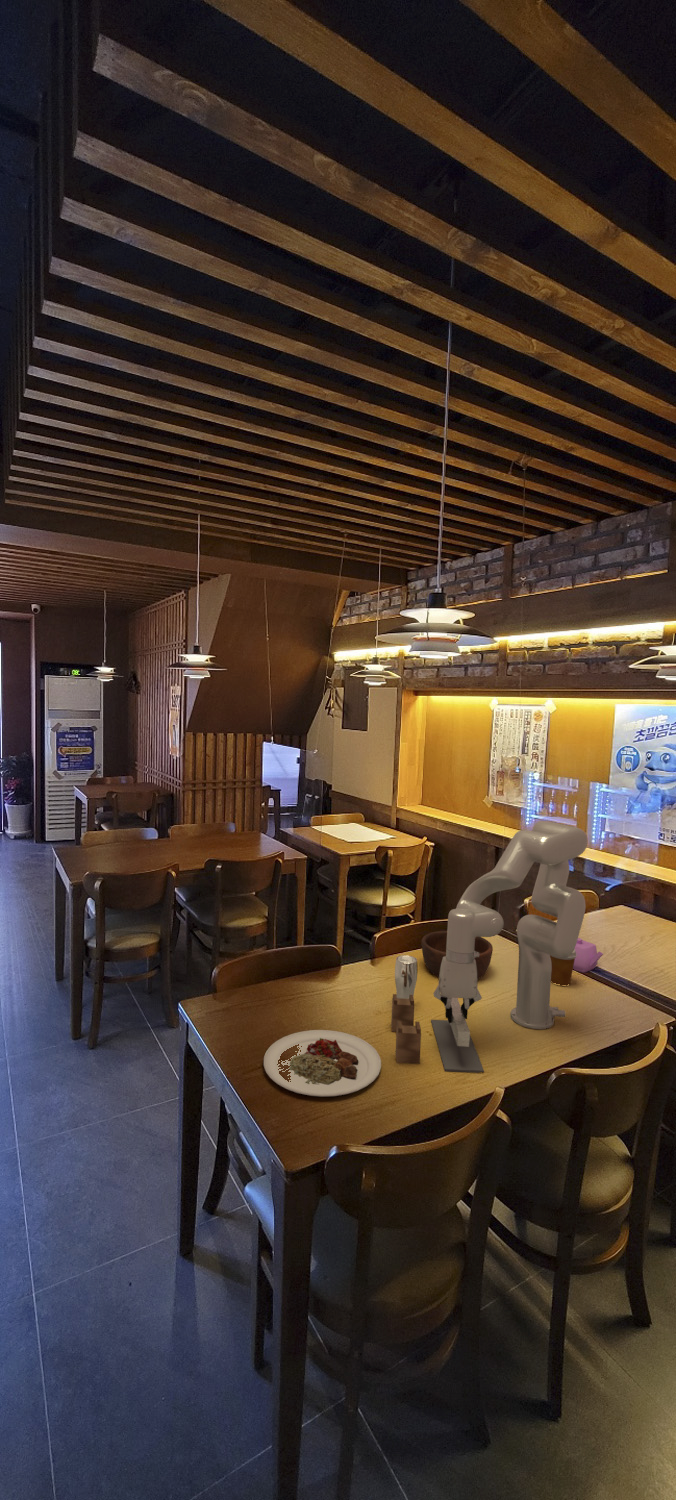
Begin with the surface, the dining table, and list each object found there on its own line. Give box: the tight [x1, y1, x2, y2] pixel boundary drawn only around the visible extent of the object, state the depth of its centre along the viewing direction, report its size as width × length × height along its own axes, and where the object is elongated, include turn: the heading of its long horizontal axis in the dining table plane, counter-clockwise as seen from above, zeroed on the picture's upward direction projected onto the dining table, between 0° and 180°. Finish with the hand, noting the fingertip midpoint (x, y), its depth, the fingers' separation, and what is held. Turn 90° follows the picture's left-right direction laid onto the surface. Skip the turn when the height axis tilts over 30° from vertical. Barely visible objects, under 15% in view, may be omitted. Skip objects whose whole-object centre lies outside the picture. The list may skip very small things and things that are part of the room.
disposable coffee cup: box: [550, 949, 577, 985], centre depth 218 cm, size 10×10×12 cm
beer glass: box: [394, 955, 418, 999], centre depth 195 cm, size 7×7×15 cm
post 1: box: [390, 993, 415, 1033], centre depth 181 cm, size 6×4×9 cm, turn 89°
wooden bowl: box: [421, 930, 494, 980], centre depth 225 cm, size 25×25×10 cm
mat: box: [430, 1019, 485, 1074], centre depth 173 cm, size 10×26×1 cm, turn 179°
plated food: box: [263, 1029, 382, 1097], centre depth 161 cm, size 30×30×3 cm
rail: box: [443, 998, 471, 1047], centre depth 173 cm, size 3×22×4 cm, turn 179°
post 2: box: [395, 1021, 422, 1065], centre depth 165 cm, size 6×4×9 cm, turn 89°
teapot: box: [573, 937, 604, 974], centre depth 233 cm, size 18×10×10 cm, turn 38°
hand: (455, 1020), depth 173 cm, fingers closed on rail, 3 cm apart
